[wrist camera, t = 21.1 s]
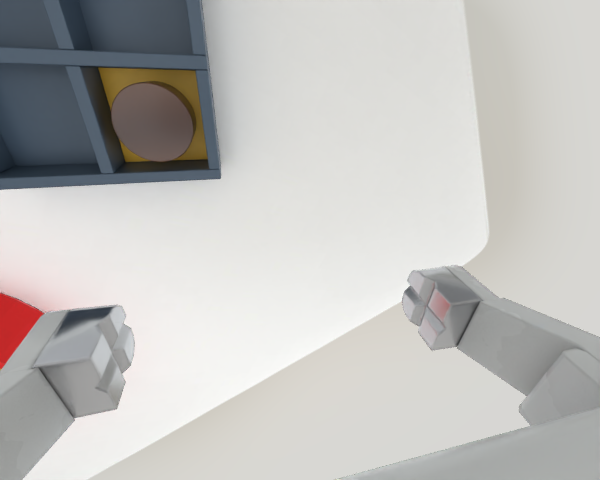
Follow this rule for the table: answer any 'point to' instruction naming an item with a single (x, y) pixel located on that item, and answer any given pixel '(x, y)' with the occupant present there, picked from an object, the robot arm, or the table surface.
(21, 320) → the toy clock
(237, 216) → the table surface
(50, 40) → the grid
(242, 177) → the table surface
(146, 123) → the cylinder
